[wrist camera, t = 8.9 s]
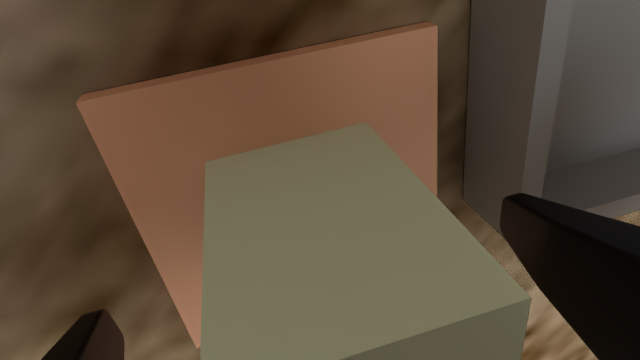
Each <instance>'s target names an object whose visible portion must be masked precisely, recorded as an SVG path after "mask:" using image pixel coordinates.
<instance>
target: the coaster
mask: <svg viewBox="0 0 640 360" xmlns="http://www.w3.org/2000/svg"><path fill="white" fill-rule="evenodd" d="M437 102H438V25H435V24H432V23H429V22H422V23H417V24H412V25H408V26H403V27H398V28H393V29H389V30H384V31H379V32H374V33H370V34H365V35H360V36H356V37H351V38H346V39H341V40H337V41H332V42H327V43H322V44H318V45H313V46H308V47H304V48H299V49H294V50H289V51H285V52H280V53H275V54H270V55H266V56H261V57H256V58H252V59H247V60H242V61H237V62H233V63H228V64H223V65H218V66H214V67H209V68H204V69H200V70H195V71H190V72H185V73H181V74H176V75H171V76H166V77H162V78H157V79H152V80H148V81H143V82H138V83H133V84H129V85H124V86H119V87H114V88H110V89H105V90H100V91H95V92H91V93H86V94H83V95H82V96H81V97H80V98H79V99H78V100H77V101H76V102H75V103H76V105H77V107H78V109H79V111H80V113H81V115H82V117H83V119H84V121H85V123H86V125H87V127H88V129H89V131H90V133H91V135H92V137H93V140H94V142H95V144H96V146H97V148H98V150H99V152H100V154H101V156H102V158H103V160H104V162H105V164H106V166H107V168H108V170H109V172H110V174H111V176H112V178H113V180H114V182H115V184H116V186H117V188H118V190H119V192H120V194H121V196H122V198H123V200H124V202H125V204H126V206H127V208H128V210H129V212H130V215H131V217H132V219H133V221H134V223H135V225H136V227H137V229H138V231H139V233H140V235H141V237H142V239H143V241H144V243H145V245H146V247H147V249H148V251H149V253H150V255H151V257H152V259H153V261H154V263H155V265H156V267H157V269H158V271H159V273H160V275H161V277H162V279H163V281H164V283H165V285H166V287H167V290H168V292H169V294H170V296H171V298H172V300H173V302H174V304H175V306H176V308H177V310H178V312H179V314H180V316H181V318H182V320H183V322H184V324H185V326H186V328H187V330H188V332H189V334H190V336H191V338H192V340H193V342H194V344H195V346H196V348H200V347H201V311H202V274H203V237H204V200H205V163H206V161H210V160H214V159H218V158H222V157H226V156H230V155H235V154H239V153H243V152H247V151H251V150H255V149H259V148H263V147H267V146H271V145H275V144H279V143H283V142H287V141H291V140H295V139H299V138H303V137H307V136H311V135H316V134H320V133H324V132H328V131H332V130H336V129H340V128H344V127H348V126H352V125H356V124H360V123H364V122H366V123H367V124H368V125H369V126H370V127H371V128H372V129H373V130H374V131H375V132H376V133H377V134H378V135H379V136H380V137H381V139H382V140H383V141H384V142H385V143H386V144H387V145H388V146H389V147H390V148H391V149H392V150H393V151H394V152H395V153H396V154H397V156H398V157H399V158H400V159H401V160H402V161H403V162H404V163H405V164H406V165H407V166H408V167H409V168H410V169H411V170H412V171H413V173H414V174H415V175H416V176H417V177H418V178H419V179H420V180H421V181H422V182H423V183H424V184H425V185H426V186H427V187H428V188H429V189H430V191H431V192H432V193H433V194H434V195H435V196H436V197H437Z"/></svg>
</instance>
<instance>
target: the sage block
mask: <svg viewBox="0 0 640 360" xmlns="http://www.w3.org/2000/svg"><path fill="white" fill-rule="evenodd" d="M530 304H531V297H530V296H529V295H528V293H527V292H526V291H525V290H524V289H523V288H522V287H521V286H520V285H519V284H518V283H517V282H516V281H515V280H514V279H513V278H512V277H511V275H510V274H509V273H508V272H507V271H506V270H505V269H504V268H503V267H502V266H501V265H500V264H499V263H498V262H497V261H496V260H495V258H494V257H493V256H492V255H491V254H490V253H489V252H488V251H487V250H486V249H485V248H484V247H483V246H482V245H481V244H480V243H479V241H478V240H477V239H476V238H475V237H474V236H473V235H472V234H471V233H470V232H469V231H468V230H467V229H466V228H465V227H464V226H463V225H462V223H461V222H460V221H459V220H458V219H457V218H456V217H455V216H454V215H453V214H452V213H451V212H450V211H449V210H448V209H447V208H446V206H445V205H444V204H443V203H442V202H441V201H440V200H439V199H438V198H437V197H436V196H435V195H434V194H433V193H432V192H431V191H430V189H429V188H428V187H427V186H426V185H425V184H424V183H423V182H422V181H421V180H420V179H419V178H418V177H417V176H416V175H415V174H414V173H413V171H412V170H411V169H410V168H409V167H408V166H407V165H406V164H405V163H404V162H403V161H402V160H401V159H400V158H399V157H398V156H397V154H396V153H395V152H394V151H393V150H392V149H391V148H390V147H389V146H388V145H387V144H386V143H385V142H384V141H383V140H382V139H381V137H380V136H379V135H378V134H377V133H376V132H375V131H374V130H373V129H372V128H371V127H370V126H369V125H368V124H367V123H366V122H364V123H360V124H356V125H352V126H348V127H344V128H340V129H336V130H332V131H328V132H324V133H320V134H316V135H311V136H307V137H303V138H299V139H295V140H291V141H287V142H283V143H279V144H275V145H271V146H267V147H263V148H259V149H255V150H251V151H247V152H243V153H239V154H235V155H230V156H226V157H222V158H218V159H214V160H210V161H206V163H205V200H204V237H203V274H202V311H201V348H200V360H521V356H522V350H523V344H524V338H525V333H526V327H527V321H528V315H529V309H530Z"/></svg>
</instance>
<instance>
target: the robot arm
mask: <svg viewBox="0 0 640 360" xmlns="http://www.w3.org/2000/svg"><path fill="white" fill-rule="evenodd" d="M500 230H501V233H502V235H503V236H504V238H505V239H506V241H507V242H508V244H509V245H510V247H511V248H512V250H513V251H514V253H515V254H516V256H517V257H518V258H519V260H520V261H521V263H522V264H523V266H524V267H525V269H526V270H527V272H528V273H529V275H530V276H531V278H532V279H533V280H534V282H535V283H536V285H537V286H538V287H539V289H540V290H541V291H542V292H543V294H544V295H545V296H546V297H547V299H548V300H549V301H550V302H551V303H552V304H553V306H554V307H555V308H556V309H557V310H558V312H559V313H560V314H561V315H562V316H563V318H564V319H565V320H566V321H567V322H568V324H569V325H570V326H571V327H572V328H573V330H574V331H575V332H576V333H577V334H578V336H579V337H580V338H581V339H582V340H583V342H584V343H585V344H586V345H587V346H588V348H589V349H590V350H591V351H592V352H593V354H594V355H595V356H596V357H597V358H598V359H599V360H640V227H639V226H636V225H632V224H629V223H626V222H622V221H619V220H615V219H612V218H608V217H605V216H601V215H598V214H594V213H591V212H587V211H584V210H580V209H577V208H574V207H570V206H567V205H563V204H560V203H556V202H553V201H549V200H546V199H542V198H539V197H535V196H532V195H529V194H525V193H516V194H512V195H509V196H506V197H504V198H503V200H502V205H501V214H500ZM41 360H124V337H123V335H122V333H121V331H120V329H119V328H118V326H117V324H116V323H115V321H114V320H113V318H112V317H111V315H110V313H109V312H108V311H107V310H105V309H99V310H96V311H92V312H88V313H86V314H83V315H82V316H81V317H80V318H79V319H78V320H77V321H76V322H75V323H74V324H73V325H72V326H71V328H70V329H69V330H68V331H67V332H66V333H65V334H64V335H63V336H62V337H61V338H60V339H59V341H58V342H57V343H56V344H55V345H54V346H53V347H52V348H51V349H50V350H49V351H48V352H47V354H46V355H45V356H44V357H43V358H42V359H41Z"/></svg>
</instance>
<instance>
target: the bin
mask: <svg viewBox="0 0 640 360" xmlns="http://www.w3.org/2000/svg"><path fill="white" fill-rule="evenodd" d="M516 193H525V194H529V195H532V196H535V197H539V198H542V199H546V200H549V201H553V202H556V203H560V204H563V205H567V206H570V207H574V208H577V209H580V210H584V211H587V212H591V213H594V214H598V215H601V216H605V217H608V218H615V217H618V216H621V215H625V214H628V213H631V212H635V211H638V210H640V0H472V1H471V24H470V46H469V69H468V92H467V115H466V138H465V161H464V184H463V200H465V201H466V202H467V203H468V204H469V205H470V206H471V207H472V208H473V209H474V210H475V211H476V212H477V213H478V214H479V215H480V216H481V217H482V218H483V219H484V220H485V221H486V222H487V223H489V224H490V225H491V226H492V227H493V228H494V229H495V230H496V231H497V232H498V233H499V234H500V235H501V236H502V237H503V238H504V236H503V235H502V233H501V230H500V214H501V205H502V200H503V198H504V197H506V196H509V195H512V194H516ZM504 239H505V238H504ZM505 240H506V239H505Z"/></svg>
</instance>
